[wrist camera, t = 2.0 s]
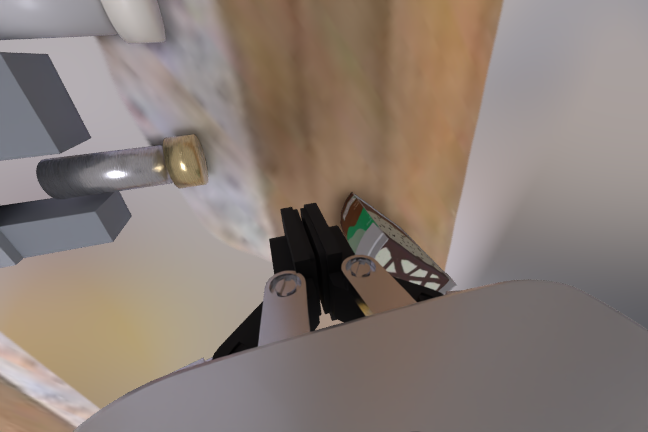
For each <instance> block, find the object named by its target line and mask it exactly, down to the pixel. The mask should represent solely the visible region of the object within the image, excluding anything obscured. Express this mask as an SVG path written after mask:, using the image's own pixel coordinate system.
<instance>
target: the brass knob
mask: <svg viewBox="0 0 648 432" xmlns="http://www.w3.org/2000/svg"><path fill="white" fill-rule="evenodd" d="M36 174H37V178H38V181H39V183H40V185H41V187H42V188H43V190H44V191H45V192H46V193H47V194H48V195H50V196H51V197H53V198H55V199H59V200H62V199H68V198H75V197H82V196H89V195H96V194H102V193H109V192H116V191H123V190H129V189H136V188H142V187H149V186H157V185H163V184H170V183H172V182H173V183H174V184H175V185H176V186H177V187H178V188H186V187H192V186H199V185H206V184H207V183H208V170H207V164H206V160H205V156H204V152H203V149H202V147H201V144H200V142H199V140H198V138H197V137H196V135H185V136H176V137H168V138H165V139H164V141H163V146H161V145H158V146H150V147H142V148H133V149H125V150H117V151H108V152H100V153H92V154H84V155H75V156H67V157H59V158H50V159H44V160H41V161H40V162H39V163H38V165H37V170H36Z"/></svg>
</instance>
